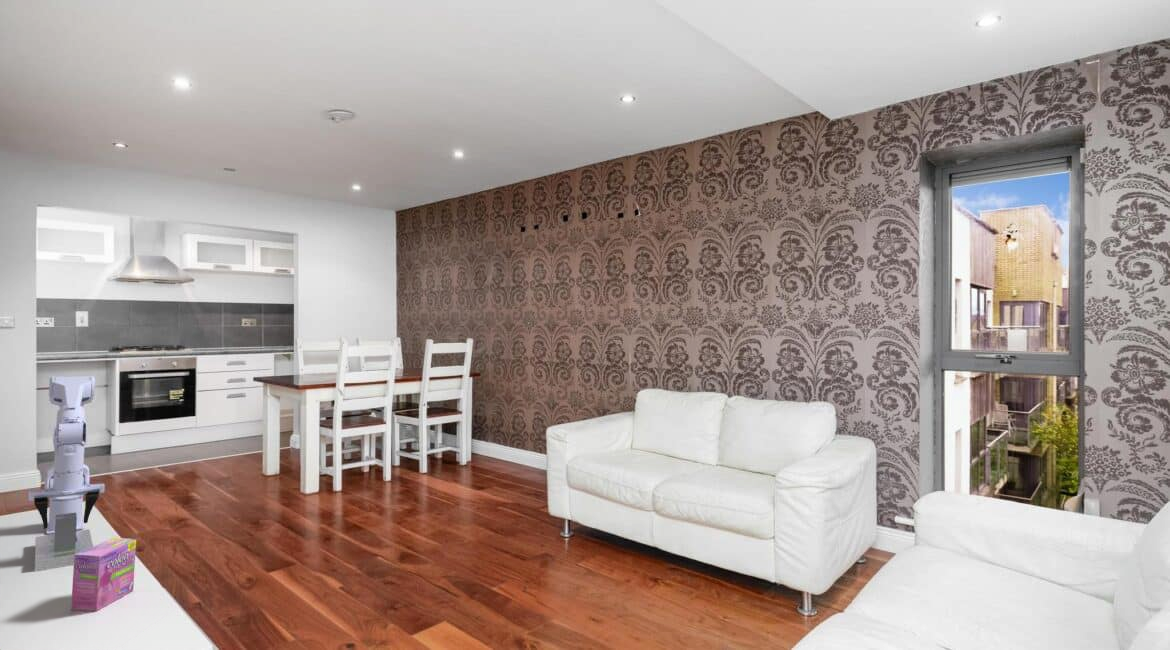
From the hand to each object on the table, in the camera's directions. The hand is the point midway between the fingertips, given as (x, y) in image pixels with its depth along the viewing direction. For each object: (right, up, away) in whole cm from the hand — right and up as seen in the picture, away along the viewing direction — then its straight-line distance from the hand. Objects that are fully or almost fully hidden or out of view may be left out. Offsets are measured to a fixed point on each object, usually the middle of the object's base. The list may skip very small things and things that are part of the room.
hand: (65, 524), depth 154 cm
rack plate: (-3, -8, +3) cm, 9 cm away
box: (+26, -10, -21) cm, 35 cm away
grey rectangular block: (0, -6, 0) cm, 6 cm away
